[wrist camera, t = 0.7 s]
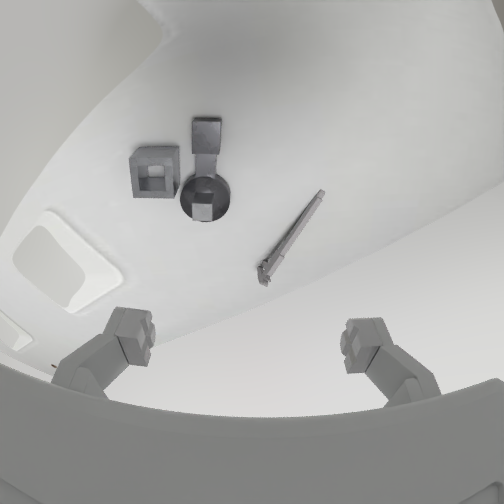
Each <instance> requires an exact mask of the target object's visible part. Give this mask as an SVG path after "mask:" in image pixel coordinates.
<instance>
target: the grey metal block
mask: <svg viewBox="0 0 504 504" xmlns="http://www.w3.org/2000/svg"><path fill="white" fill-rule="evenodd" d="M129 165H130V174H131V183H132V191H133V198H173V199H174V197H175V195H176V193H177V190H178V188H179V185H180V164H179V147H139V148H138V149H137V150H136V151H135V152H134V153H133V154H132V156H131V157H130V158H129ZM153 165H164V168H165V177H149V176H148V166H153Z"/></svg>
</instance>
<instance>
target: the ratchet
mask: <svg viewBox="0 0 504 504" xmlns="http://www.w3.org/2000/svg"><path fill="white" fill-rule="evenodd" d="M221 122H222V119H219V118H194V120H193V121H192V154H196V174H195V175H193V176H191V177H190V178H189V179H188V180H187V181H186V183H185V185H184V187H183V190H182V192H181V196H180V203H181V206H182V209H183V210H184V212H185V213H186V214H187V215H188V216H189V217H191V218H192V219H193V221H201V222H211V221H215V220H217V219H219V218H221V217H222V216H223V215H224V214H225V213H226V212H227V210H228V208H229V204H230V189H229V186H228V184H227V182H226V181H225V180H224V179H223V178H222V177H220V176H219V175H217V174H216V157H217V154H219V152H220V141H221Z"/></svg>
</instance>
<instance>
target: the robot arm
mask: <svg viewBox="0 0 504 504" xmlns="http://www.w3.org/2000/svg"><path fill="white" fill-rule="evenodd" d="M151 319H152V315H151V312H150V311H147V310H139V309H132V308H123V307H116V308H115V309H114V311H113V313H112V315H111V317H110V319H109V321H108V323H107V325H106V327H105V330H104V332H103V334H98V335H97V336H95V337H94V338H93V339H91V340H90V341H88V342H87V343H85V344H84V345H82V346H81V347H80V348H78V349H77V350H75V351H74V352H72V353H71V354H70V355H68V356H67V357H65V358H64V359H63V360H61V361H60V363H59V366H58V368H57V370H56V372H55V374H54V376H53V379H52V381H51V383H49V382H46V381H43V380H40V379H38V378H35V377H32V376H30V375H27V374H24V373H22V372H19V371H17V370H15V369H12V368H9V367H7V366H5V365H3V364H1V363H0V504H504V382H503V381H501V380H500V379H497V378H494V379H490V380H488V381H485V382H482V383H479V384H476V385H473V386H470V387H467V388H464V389H461V390H458V391H455V392H451V393H448V394H444V395H441V392H440V389H439V387H438V384H437V382H436V380H435V377H434V375H433V373H431V372H430V371H429V370H428V369H427V368H425V367H424V366H423V365H422V364H420V363H419V362H418V361H417V360H415V359H414V358H413V357H412V356H410V355H409V354H408V353H407V352H405V351H404V350H403V349H401V348H400V347H399V346H398V345H394V344H393V341H392V339H391V337H390V334H389V332H388V330H387V327H386V325H385V323H384V321H383V319H382V318H356V319H349V320H348V321H347V323H346V328H347V329H346V330H345V331H344V332H343V333H342V336H341V342H340V346H341V352H342V354H343V355H345V356H346V358H345V360H344V363H345V367H346V370H347V373H348V374H349V373H364V372H365V374H366V375H367V376H368V377H369V378H370V380H371V381H372V382H373V383H374V384H375V385H376V386H377V387H378V389H379V390H380V391H382V393H383V394H384V395H385V396H386V397H387V398H388V400H389V401H388V402H387V404H386V405H385V406H384V407H383V408H380V409H374V410H367V411H360V412H352V413H343V414H334V415H322V416H309V417H308V416H306V417H283V418H282V417H278V418H256V417H226V416H211V415H200V414H190V413H181V412H174V411H166V410H160V409H153V408H147V407H141V406H136V405H131V404H126V403H121V402H117V401H112V400H109V399H108V397H107V396H106V394H105V393H104V391H103V390H104V389H105V388H106V387H107V386H108V385H109V384H110V383H111V382H112V381H113V380H114V379H116V378H117V377H118V375H119V374H121V373H122V372H123V371H124V370H125V369H126V368H127V367H128V366H129V364H130V365H137V366H146V367H147V366H148V363H149V359H150V356H151V353H150V350H149V349H150V348H152V347H153V345H154V342H155V327H154V324H153V323H152V322H151Z"/></svg>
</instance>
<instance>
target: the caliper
mask: <svg viewBox="0 0 504 504" xmlns="http://www.w3.org/2000/svg"><path fill="white" fill-rule="evenodd" d="M324 195H325V192H324V191H322V190H320V191H319V192H318V194H317V195H316V196H315V197H314V198H313V199H312V201H311V202H310V203H309V205H308V207H307V208H306V210H305V211H304V213H303V214H302V216H301V217H300V219H299V220H298V222H297V223H296V225H295V226H294V227H293V229H292V230H291V232H290V233H289V235H288V236H287V238H286V239H285V241H284V242H283V244H282V245H281V247H280V248H279V250H278V249H276V251H275V253H274V254H273V255H272V257H271V259H270V261H269V263H268V262H266V261H264V260H263V261H262V263H263V266H264V268H265V270H263V268H261V267H258V280H259V282H260V284H262V285H264V286H266V287H267V286H268V281H269V282H271V280H270V276H272V275H273V273H274V272H275V270H276V269H277V268H278V266H279V265H280V263H281V262H282V260H283V259H284V256H285V254H286V253H287V251H288V250H289V248H290V247H291V246H292V244H293V243H294V241H295V240H296V238H297V237H298V235H299V234H300V232H301V231H302V230H303V228H304V227H305V225H306V224H307V222H308V221H309V219H310V218H311V216H312V215H313V213H314V212H315V210H316V209H317V207H318V206H319V205H320V203H321V202H322V198H323V196H324Z"/></svg>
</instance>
